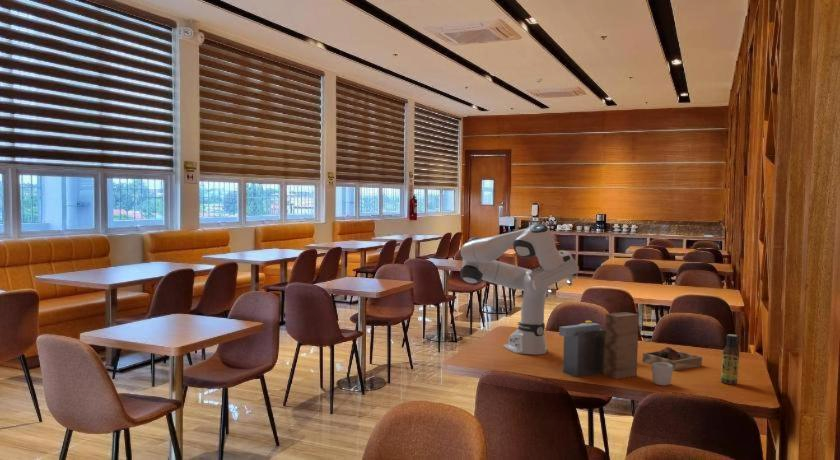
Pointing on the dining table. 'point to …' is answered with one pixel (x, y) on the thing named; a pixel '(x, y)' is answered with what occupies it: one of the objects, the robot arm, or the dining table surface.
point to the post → (621, 345)
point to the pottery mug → (665, 353)
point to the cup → (662, 373)
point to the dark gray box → (584, 353)
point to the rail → (577, 329)
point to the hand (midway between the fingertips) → (560, 289)
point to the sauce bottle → (730, 361)
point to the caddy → (683, 363)
